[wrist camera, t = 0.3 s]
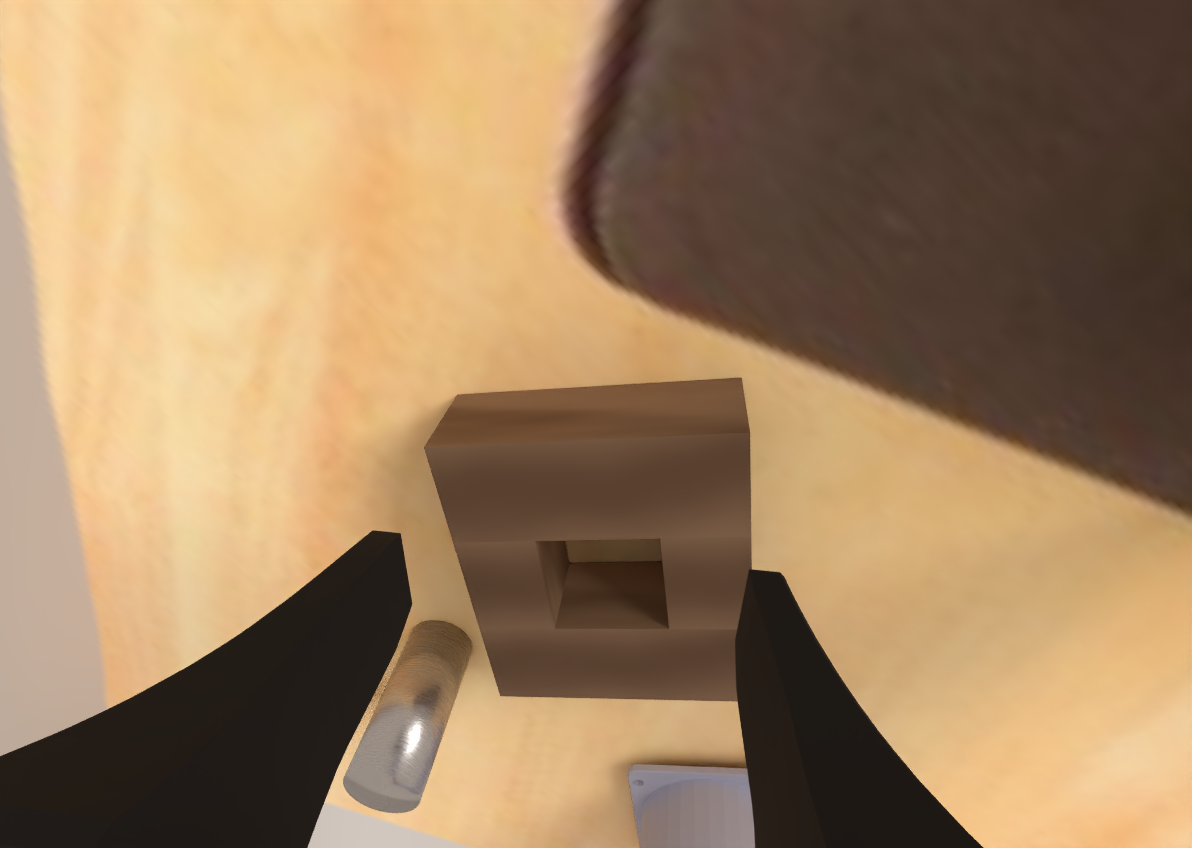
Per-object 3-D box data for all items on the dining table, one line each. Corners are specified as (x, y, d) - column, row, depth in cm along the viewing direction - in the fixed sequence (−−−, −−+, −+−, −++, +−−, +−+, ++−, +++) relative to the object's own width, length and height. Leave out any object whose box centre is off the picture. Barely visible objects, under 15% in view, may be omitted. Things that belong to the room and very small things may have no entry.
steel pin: (478, 665, 31) (429, 814, 25) (419, 664, 32) (357, 811, 26) (464, 620, 30) (408, 768, 24) (402, 620, 30) (332, 765, 24)
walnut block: (746, 629, 28) (753, 701, 25) (519, 628, 30) (500, 695, 27) (741, 377, 22) (749, 432, 19) (457, 394, 24) (423, 447, 21)
